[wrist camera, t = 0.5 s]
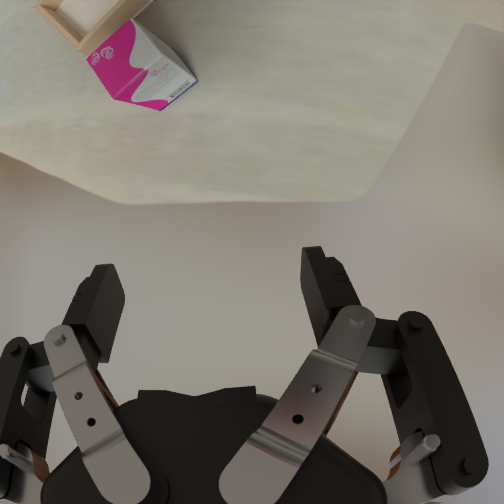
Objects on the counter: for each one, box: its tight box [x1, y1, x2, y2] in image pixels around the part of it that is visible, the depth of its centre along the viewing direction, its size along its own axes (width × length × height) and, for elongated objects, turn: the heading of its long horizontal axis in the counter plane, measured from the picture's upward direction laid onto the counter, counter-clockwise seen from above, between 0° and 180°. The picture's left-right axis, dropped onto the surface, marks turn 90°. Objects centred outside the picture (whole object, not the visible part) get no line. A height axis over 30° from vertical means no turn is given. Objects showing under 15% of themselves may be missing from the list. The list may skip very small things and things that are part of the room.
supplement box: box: [86, 18, 198, 111], centre depth 26 cm, size 6×6×12 cm
